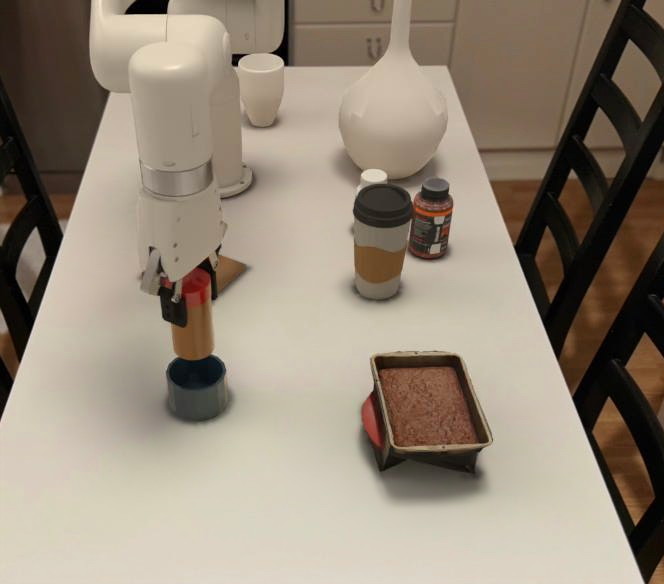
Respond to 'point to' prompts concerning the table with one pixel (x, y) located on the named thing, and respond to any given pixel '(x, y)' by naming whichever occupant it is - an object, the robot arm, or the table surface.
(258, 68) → the mug
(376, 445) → the baking dish
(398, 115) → the vase
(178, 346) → the jar
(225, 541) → the table surface
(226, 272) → the wooden board
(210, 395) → the cup
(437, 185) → the supplement bottle
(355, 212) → the coffee cup
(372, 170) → the pill bottle
